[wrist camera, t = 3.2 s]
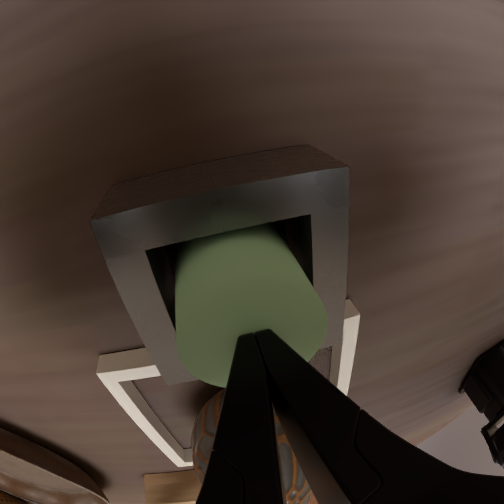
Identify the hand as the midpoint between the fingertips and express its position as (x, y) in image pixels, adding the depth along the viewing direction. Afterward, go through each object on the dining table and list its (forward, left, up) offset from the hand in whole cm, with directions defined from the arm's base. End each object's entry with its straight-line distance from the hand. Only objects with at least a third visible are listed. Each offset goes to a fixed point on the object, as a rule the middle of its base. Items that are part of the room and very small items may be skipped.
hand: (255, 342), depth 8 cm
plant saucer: (+26, +18, -5) cm, 32 cm away
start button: (0, 0, -4) cm, 4 cm away
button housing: (0, 0, -5) cm, 5 cm away
